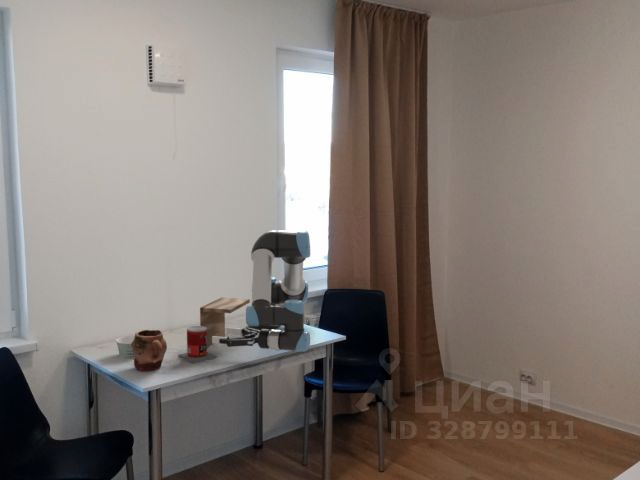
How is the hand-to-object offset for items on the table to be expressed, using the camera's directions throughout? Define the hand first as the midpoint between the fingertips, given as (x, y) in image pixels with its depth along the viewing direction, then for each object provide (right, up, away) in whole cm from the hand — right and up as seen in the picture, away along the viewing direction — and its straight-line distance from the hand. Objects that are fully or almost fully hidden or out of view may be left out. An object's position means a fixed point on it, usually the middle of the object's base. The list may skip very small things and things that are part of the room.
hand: (219, 335), depth 254 cm
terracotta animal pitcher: (-24, -11, -11) cm, 29 cm away
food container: (-37, -9, +7) cm, 39 cm away
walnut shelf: (0, -7, +22) cm, 24 cm away
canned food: (-10, -9, +3) cm, 13 cm away
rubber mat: (-9, -9, +3) cm, 14 cm away
